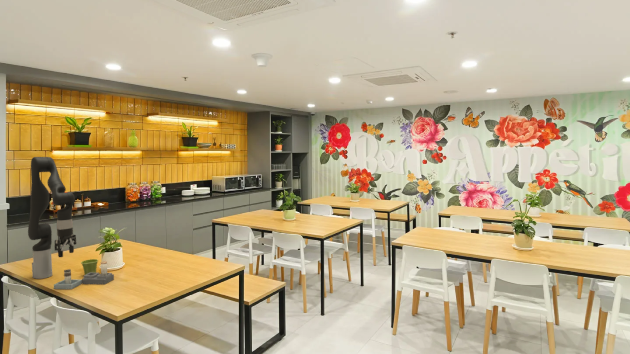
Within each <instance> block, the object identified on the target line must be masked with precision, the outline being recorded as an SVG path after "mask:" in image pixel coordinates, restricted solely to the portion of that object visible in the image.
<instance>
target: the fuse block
mask: <svg viewBox="0 0 630 354" xmlns="http://www.w3.org/2000/svg"><path fill="white" fill-rule="evenodd" d="M114 279H115V274H113V272H107V275H106V276H101V273H99V272H96V273H88V274H86V275H85V274H84V275H83V278H82V279H81V280H82V284H81V285H107V284H108V283H110V282H112V281H113V280H114Z"/></svg>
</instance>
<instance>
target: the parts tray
mask: <svg viewBox="0 0 630 354" xmlns="http://www.w3.org/2000/svg"><path fill="white" fill-rule="evenodd" d="M71 283H72V284H65V278H64V279H63V280H61V281H57V283H54V284H53V290H73V289H75V288H77V287H79V286H81V285H83V284H82V279H72V278H71Z"/></svg>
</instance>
